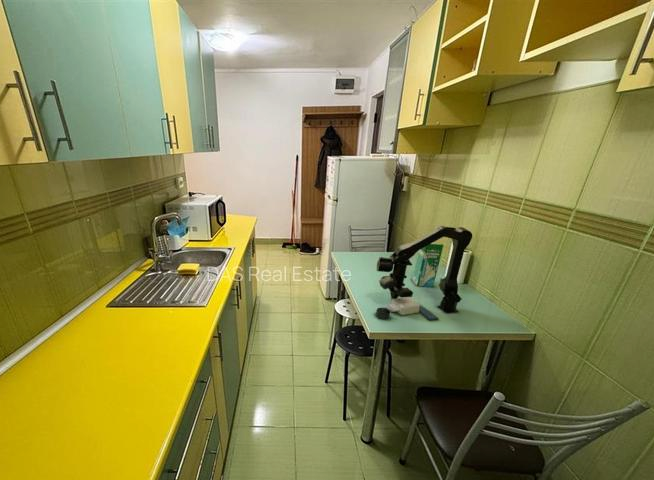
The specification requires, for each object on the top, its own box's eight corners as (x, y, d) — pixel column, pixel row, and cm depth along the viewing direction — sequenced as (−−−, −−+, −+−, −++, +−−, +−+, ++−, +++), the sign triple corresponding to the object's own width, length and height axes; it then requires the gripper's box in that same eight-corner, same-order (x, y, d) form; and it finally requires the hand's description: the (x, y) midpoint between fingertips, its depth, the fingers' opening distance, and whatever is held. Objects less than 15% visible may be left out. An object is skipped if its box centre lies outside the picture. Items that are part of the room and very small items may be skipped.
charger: (379, 308, 146) (405, 304, 151) (391, 318, 138) (418, 313, 143) (381, 299, 144) (406, 295, 149) (393, 308, 136) (420, 304, 141)
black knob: (384, 312, 143) (385, 306, 142) (391, 318, 138) (393, 312, 136) (373, 313, 142) (374, 307, 140) (379, 320, 136) (381, 314, 135)
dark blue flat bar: (417, 304, 151) (417, 302, 151) (438, 319, 138) (438, 318, 138) (409, 305, 150) (409, 303, 150) (429, 320, 137) (429, 319, 137)
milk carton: (427, 280, 179) (437, 239, 169) (433, 287, 171) (443, 244, 161) (412, 279, 180) (420, 239, 170) (416, 286, 172) (426, 243, 162)
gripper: (373, 266, 150) (369, 294, 156) (394, 281, 133) (388, 312, 140) (393, 265, 152) (388, 292, 159) (416, 280, 136) (409, 310, 142)
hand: (392, 301), depth 150 cm, fingers closed
